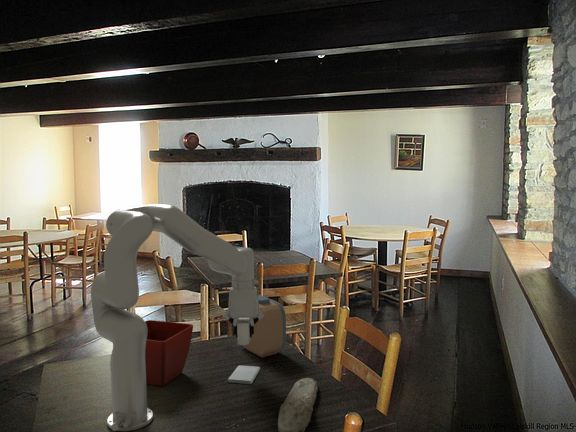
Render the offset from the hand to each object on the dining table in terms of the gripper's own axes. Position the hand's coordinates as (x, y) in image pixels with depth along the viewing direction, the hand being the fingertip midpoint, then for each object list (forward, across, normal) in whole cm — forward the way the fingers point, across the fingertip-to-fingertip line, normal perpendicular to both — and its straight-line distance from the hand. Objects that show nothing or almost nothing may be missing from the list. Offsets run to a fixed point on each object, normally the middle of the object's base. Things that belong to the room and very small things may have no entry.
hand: (244, 335), depth 176 cm
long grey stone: (+15, -18, +25) cm, 34 cm away
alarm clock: (+14, -4, -23) cm, 27 cm away
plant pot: (+14, +30, +1) cm, 33 cm away
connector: (+1, 0, 0) cm, 1 cm away
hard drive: (+15, 0, 0) cm, 15 cm away
